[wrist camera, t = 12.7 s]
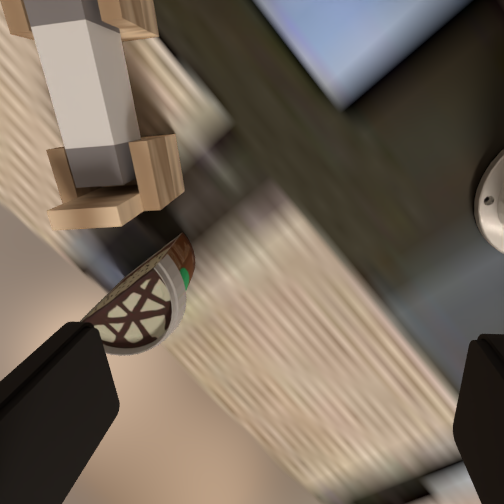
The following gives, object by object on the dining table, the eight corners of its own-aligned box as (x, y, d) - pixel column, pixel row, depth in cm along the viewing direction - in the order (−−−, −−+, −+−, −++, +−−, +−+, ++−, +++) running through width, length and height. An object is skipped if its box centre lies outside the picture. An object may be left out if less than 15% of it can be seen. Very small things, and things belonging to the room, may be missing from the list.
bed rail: (111, -13, 26) (72, -37, 22) (147, 173, 32) (123, 184, 27) (62, -5, 27) (15, -28, 22) (107, 176, 32) (76, 187, 28)
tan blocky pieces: (145, -43, 28) (62, -127, 18) (184, 190, 35) (141, 225, 25) (49, -27, 29) (-81, -97, 19) (106, 196, 36) (34, 231, 26)
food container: (152, 320, 42) (112, 380, 33) (116, 283, 40) (64, 335, 31) (229, 267, 38) (209, 318, 29) (192, 224, 36) (159, 264, 27)
